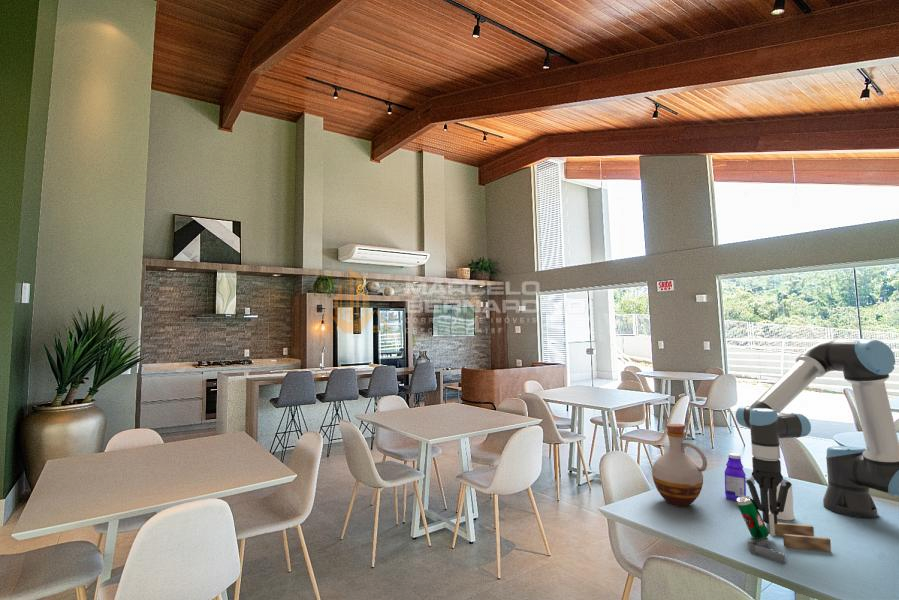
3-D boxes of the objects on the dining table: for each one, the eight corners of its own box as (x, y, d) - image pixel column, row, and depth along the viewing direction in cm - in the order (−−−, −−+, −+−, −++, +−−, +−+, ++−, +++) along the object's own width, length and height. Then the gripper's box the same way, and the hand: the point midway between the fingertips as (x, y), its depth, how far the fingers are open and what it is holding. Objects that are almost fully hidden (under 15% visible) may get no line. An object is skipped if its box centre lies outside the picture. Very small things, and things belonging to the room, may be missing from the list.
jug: (714, 504, 175) (712, 424, 177) (702, 517, 162) (699, 432, 164) (661, 492, 188) (659, 418, 190) (645, 503, 175) (643, 424, 177)
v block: (767, 545, 141) (766, 536, 141) (786, 564, 129) (786, 555, 129) (741, 542, 143) (741, 534, 143) (758, 561, 131) (758, 552, 131)
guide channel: (811, 536, 147) (811, 525, 147) (831, 551, 137) (830, 539, 137) (770, 532, 150) (769, 521, 150) (785, 547, 140) (785, 535, 140)
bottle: (746, 498, 181) (744, 453, 182) (746, 503, 176) (744, 457, 177) (725, 495, 185) (723, 451, 186) (724, 499, 180) (723, 454, 181)
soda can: (770, 539, 142) (752, 500, 144) (752, 540, 144) (734, 503, 146) (769, 531, 146) (752, 494, 148) (752, 533, 149) (735, 496, 151)
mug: (785, 524, 156) (784, 488, 157) (757, 516, 163) (756, 482, 164) (798, 516, 163) (796, 482, 164) (770, 509, 170) (769, 476, 171)
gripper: (782, 455, 149) (787, 530, 147) (739, 453, 152) (743, 527, 150) (794, 461, 142) (799, 540, 140) (748, 459, 144) (753, 536, 142)
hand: (770, 533), depth 145 cm, fingers closed
